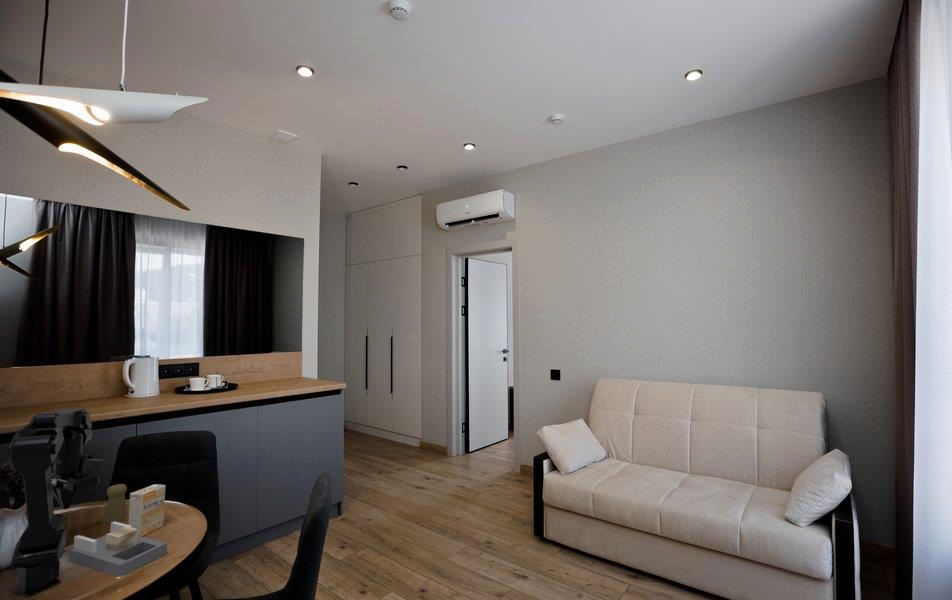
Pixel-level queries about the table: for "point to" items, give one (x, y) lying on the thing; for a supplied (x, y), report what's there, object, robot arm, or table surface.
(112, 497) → the cork
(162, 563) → the table surface
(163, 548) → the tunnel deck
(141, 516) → the supplement box
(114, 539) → the birch block
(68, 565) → the table surface
